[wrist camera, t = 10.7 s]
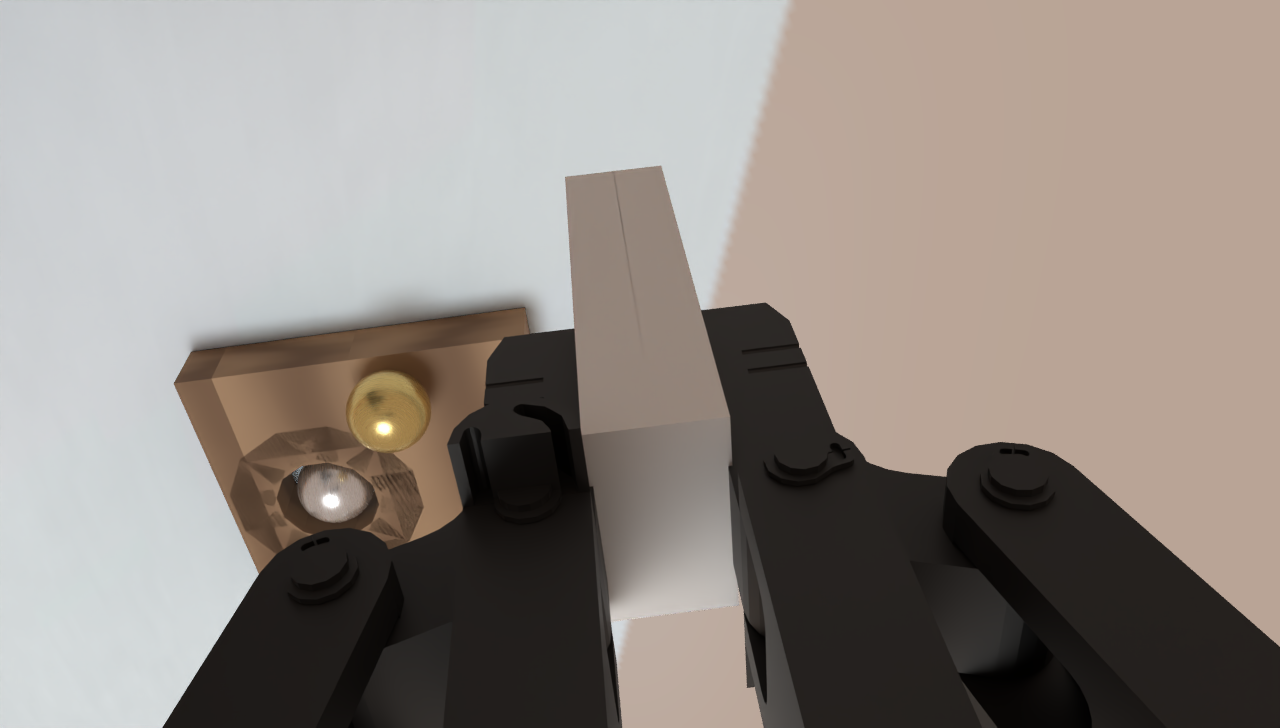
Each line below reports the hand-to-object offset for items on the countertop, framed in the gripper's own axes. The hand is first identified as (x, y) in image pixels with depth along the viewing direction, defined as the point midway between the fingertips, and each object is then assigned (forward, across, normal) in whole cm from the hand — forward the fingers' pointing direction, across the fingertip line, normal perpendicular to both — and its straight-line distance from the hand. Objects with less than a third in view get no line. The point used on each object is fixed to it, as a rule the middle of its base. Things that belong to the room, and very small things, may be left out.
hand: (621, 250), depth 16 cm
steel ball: (+23, -14, -22) cm, 35 cm away
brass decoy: (+20, -10, -16) cm, 28 cm away
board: (+24, -12, -22) cm, 35 cm away
